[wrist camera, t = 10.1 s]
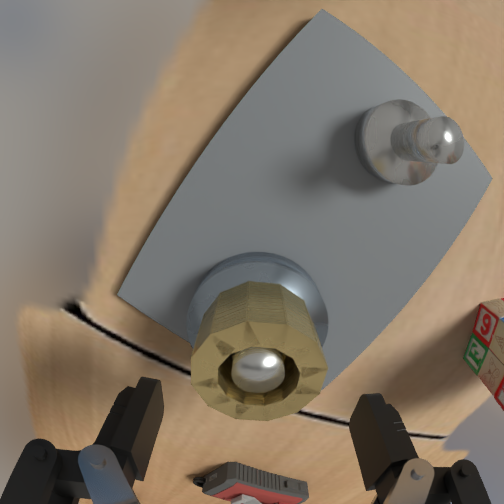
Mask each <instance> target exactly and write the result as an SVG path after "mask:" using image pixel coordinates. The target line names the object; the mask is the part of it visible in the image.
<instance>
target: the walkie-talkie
mask: <svg viewBox="0 0 504 504" xmlns="http://www.w3.org/2000/svg"><path fill="white" fill-rule="evenodd" d="M193 480H194V481H193V483H194V484H195V485H197V486H199V487H202V488H203V489H202V492H203V493H204V494H207V495H210V496H213V497H217V498H220V499H223V500H227V501H231V504H300V503H302V502H305V501H306V500H307V499H308V498H309V493H308V486H307V482H305V481H300V480H296V479H292V478H288V477H284V476H280V475H277V474H273V473H269V472H266V471H262V470H258V469H255V468H253V467H250V466H246V465H243V464H241V463H237V462H227V463H226V464H224V465H223V466H221V467H219V468H218V469H216V470H214V471H213V472H211V473H209V474H207V475H206V476H204V478H202V477H195V478H194V479H193Z"/></svg>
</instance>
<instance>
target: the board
mask: <svg viewBox="0 0 504 504" xmlns="http://www.w3.org/2000/svg"><path fill="white" fill-rule="evenodd" d="M396 99H402V100H407V101H411V102H413V103H415V104H417V105H419V106H420V107H421V108H423V109H424V110H425V111H426V112H427V113H428V115H429V116H430V117H431V118H435V117H441V116H445V117H447V116H446V115H445V114H444V113H443V112H442V111H441V110H440V108H439V107H438V106H437V105H436V104H435V103H434V102H433V101H432V100H431V99H430V97H429V96H428V95H427V94H426V93H425V92H424V91H423V90H422V89H421V88H420V87H419V86H418V85H417V84H416V83H415V82H414V81H413V80H412V79H411V78H410V77H409V76H408V75H407V74H406V73H404V72H403V71H402V70H401V69H400V68H399V67H398V66H397V65H396V64H395V63H394V62H392V61H391V60H390V59H389V58H388V57H387V56H386V55H384V54H383V53H382V52H381V51H380V50H378V49H377V48H376V47H375V46H373V45H372V44H371V43H370V42H368V41H367V40H366V39H365V38H363V37H362V36H361V35H359V34H358V33H357V32H355V31H354V30H353V29H351V28H350V27H348V26H347V25H346V24H344V23H343V22H341V21H340V20H338V19H337V18H336V17H334V16H333V15H331V14H329V13H328V12H326V11H325V10H323V9H321V10H320V11H319V12H318V13H317V14H316V15H315V16H314V17H313V18H312V19H311V20H310V22H309V23H308V24H307V25H306V26H305V27H304V28H303V29H302V30H301V31H300V32H299V33H298V34H297V35H296V36H295V37H294V39H293V40H292V41H291V42H290V43H289V44H288V45H287V46H286V47H285V48H284V50H283V51H282V52H281V53H280V54H279V55H278V56H277V58H276V59H275V60H274V61H273V62H272V63H271V64H270V66H269V67H268V68H267V69H266V70H265V72H264V73H263V74H262V75H261V76H260V78H259V79H258V80H257V81H256V82H255V84H254V85H253V86H252V87H251V89H250V90H249V91H248V92H247V94H246V95H245V96H244V97H243V99H242V100H241V101H240V102H239V104H238V105H237V106H236V108H235V109H234V110H233V112H232V113H231V114H230V116H229V117H228V118H227V119H226V121H225V122H224V124H223V125H222V126H221V128H220V129H219V130H218V132H217V133H216V134H215V136H214V137H213V139H212V140H211V141H210V143H209V144H208V146H207V147H206V148H205V150H204V151H203V153H202V154H201V156H200V157H199V158H198V160H197V161H196V163H195V164H194V166H193V167H192V169H191V170H190V172H189V173H188V175H187V176H186V178H185V179H184V181H183V182H182V184H181V185H180V187H179V188H178V190H177V192H176V193H175V195H174V196H173V198H172V199H171V201H170V203H169V204H168V206H167V207H166V209H165V211H164V212H163V214H162V215H161V217H160V219H159V220H158V222H157V224H156V225H155V227H154V229H153V230H152V232H151V234H150V236H149V237H148V239H147V241H146V242H145V244H144V246H143V248H142V249H141V251H140V253H139V255H138V257H137V258H136V260H135V262H134V264H133V266H132V267H131V269H130V271H129V273H128V275H127V277H126V279H125V280H124V282H123V284H122V286H121V288H120V290H119V292H118V294H117V295H118V296H119V297H121V298H122V299H124V300H125V301H126V302H128V303H129V304H131V305H132V306H134V307H135V308H137V309H138V310H139V311H141V312H142V313H144V314H145V315H147V316H148V317H150V318H151V319H153V320H154V321H156V322H157V323H159V324H160V325H162V326H164V327H165V328H167V329H168V330H170V331H171V332H173V333H175V334H176V335H178V336H179V337H181V338H183V339H184V340H186V341H188V342H189V343H190V341H189V338H188V334H187V328H186V320H187V313H188V309H189V306H190V303H191V301H192V299H193V296H194V294H195V292H196V289H197V287H198V285H199V283H200V282H201V280H202V278H203V277H204V276H205V275H206V273H207V272H208V271H209V270H210V269H212V268H213V267H214V266H215V265H217V264H218V263H220V262H221V261H223V260H225V259H227V258H229V257H232V256H235V255H238V254H242V253H247V252H267V253H273V254H277V255H280V256H283V257H286V258H288V259H290V260H292V261H294V262H295V263H297V264H298V265H300V266H301V267H302V268H303V269H305V270H306V272H307V273H308V274H309V275H310V276H311V277H312V279H313V280H314V282H315V284H316V286H317V288H318V290H319V292H320V294H321V297H322V299H323V301H324V303H325V305H326V309H327V312H328V320H329V321H328V332H327V337H326V340H325V343H324V345H323V347H322V350H323V353H324V356H325V359H326V362H327V365H328V370H327V373H326V376H325V379H324V382H323V385H322V388H321V390H322V389H324V388H325V387H326V386H327V385H328V384H329V383H330V382H331V381H333V380H334V379H335V378H336V377H337V376H338V375H339V374H340V373H341V372H342V371H343V370H344V369H345V368H347V367H348V366H349V365H350V364H351V363H352V362H353V361H354V360H355V359H356V358H357V357H358V356H359V355H360V354H361V353H362V352H363V351H364V350H365V349H366V348H367V347H368V346H369V345H370V344H371V343H372V342H373V341H374V339H375V338H376V337H377V336H378V335H379V334H380V333H381V332H382V331H383V330H384V329H385V328H386V327H387V326H388V324H389V323H390V322H391V321H392V320H393V319H394V318H395V317H396V315H397V314H398V313H399V312H400V311H401V310H402V309H403V307H404V306H405V305H406V304H407V303H408V301H409V300H410V299H411V298H412V297H413V295H414V294H415V293H416V292H417V291H418V289H419V288H420V287H421V286H422V284H423V283H424V282H425V281H426V279H427V278H428V277H429V275H430V274H431V273H432V271H433V270H434V269H435V267H436V266H437V265H438V263H439V262H440V261H441V259H442V258H443V257H444V255H445V254H446V252H447V251H448V250H449V248H450V247H451V245H452V244H453V242H454V241H455V239H456V238H457V236H458V235H459V233H460V232H461V230H462V229H463V227H464V226H465V224H466V223H467V221H468V220H469V218H470V216H471V215H472V213H473V212H474V210H475V208H476V207H477V205H478V203H479V202H480V200H481V198H482V196H483V195H484V193H485V191H486V189H487V188H488V186H489V184H490V182H491V180H492V177H491V175H490V174H489V172H488V171H487V169H486V168H485V166H484V165H483V163H482V162H481V160H480V159H479V158H478V156H477V155H476V153H475V152H474V151H473V149H472V148H471V147H470V145H469V144H468V142H467V141H466V140H465V139H464V151H463V154H462V156H461V158H460V159H459V160H458V161H457V162H456V163H453V164H442V163H438V164H437V167H436V169H435V170H434V172H433V173H432V175H431V176H430V177H429V178H428V179H426V180H425V181H423V182H422V183H419V184H416V185H411V186H406V185H400V184H395V183H391V182H386V181H382V180H380V179H378V178H376V177H374V176H373V175H371V174H370V173H369V172H368V171H367V170H366V169H365V168H364V166H363V165H362V163H361V162H360V160H359V158H358V155H357V152H356V148H355V141H354V138H355V129H356V126H357V123H358V121H359V120H360V118H361V116H362V115H363V114H364V113H365V112H366V111H367V110H369V109H371V108H373V107H375V106H378V105H380V104H383V103H385V102H388V101H390V100H396Z"/></svg>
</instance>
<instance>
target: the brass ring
mask: <svg viewBox="0 0 504 504" xmlns="http://www.w3.org/2000/svg"><path fill="white" fill-rule="evenodd" d="M249 347H262V348H275V349H277V350H279V351H281V352H282V355H283V362H284V370H285V376H284V379H283V381H282V383H281V384H280V385H279V386H278V387H276V388H275V389H273V390H271V391H268V392H263V393H252V392H248V391H245V390H243V389H241V388H239V387H238V386H237V385H236V384H235V383H234V381H233V379H232V375H231V372H232V363H233V353H235V352H238V351H241V350H244V349H247V348H249ZM190 359H191V385H192V386H193V387H194V389H195V390H196V391H197V392H198V394H199V395H200V396H201V398H202V399H203V400H204V401H205V403H206V404H207V406H209V407H211V408H213V409H215V410H218V411H220V412H222V413H224V414H226V415H228V416H230V417H233V418H235V419H244V420H259V421H269V420H273V419H276V418H280V417H283V416H286V415H290V414H293V413H296V412H298V411H299V410H301V409H302V408H303V407H304V406H306V405H307V404H308V403H309V402H310V401H312V400H313V399H314V398H315V397H316V396H317V395H319V394H320V391H321V388H322V385H323V382H324V379H325V376H326V373H327V370H328V365H327V362H326V359H325V356H324V353H323V350H322V347H321V344H320V341H319V338H318V335H317V332H316V329H315V326H314V323H313V321H312V319H311V317H310V314H309V312H308V309H307V307H306V304H305V301H304V300H303V299H301V298H300V297H298V296H297V295H295V294H294V293H293V292H291V291H290V290H288V289H287V288H285V287H284V286H282V285H281V284H275V283H264V282H254V281H247V282H245V283H242V284H240V285H238V286H235V287H233V288H230V289H228V290H225V291H223V292H220V293H219V295H218V296H217V298H216V299H215V300H214V302H213V303H212V304H211V306H210V307H209V308H208V309H207V311H206V312H205V313H204V316H203V319H202V322H201V325H200V329H199V332H198V335H197V338H196V342H195V345H194V348H193V352H192V355H191V358H190Z"/></svg>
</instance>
